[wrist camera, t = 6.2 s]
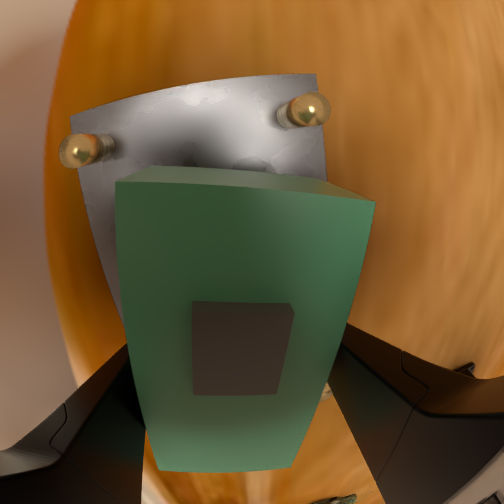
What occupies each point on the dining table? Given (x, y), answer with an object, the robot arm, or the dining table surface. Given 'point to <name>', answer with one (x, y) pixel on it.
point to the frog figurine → (340, 500)
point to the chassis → (195, 141)
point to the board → (234, 307)
